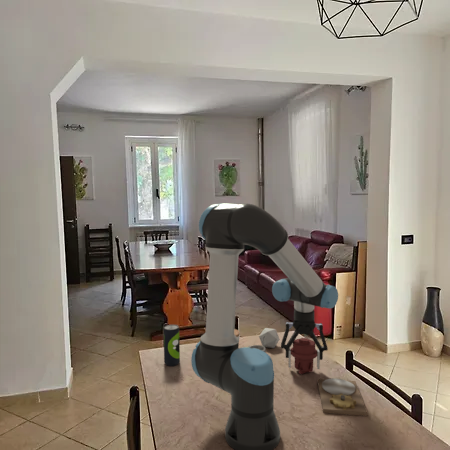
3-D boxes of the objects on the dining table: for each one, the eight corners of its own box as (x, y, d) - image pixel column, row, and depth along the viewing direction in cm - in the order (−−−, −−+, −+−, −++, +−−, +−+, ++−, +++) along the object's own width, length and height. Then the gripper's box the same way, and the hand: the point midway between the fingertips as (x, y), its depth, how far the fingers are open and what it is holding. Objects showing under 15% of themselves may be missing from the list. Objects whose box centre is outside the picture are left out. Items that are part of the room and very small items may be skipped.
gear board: (367, 416, 117) (367, 405, 116) (323, 412, 119) (323, 402, 118) (355, 384, 136) (355, 375, 136) (317, 381, 138) (317, 372, 138)
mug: (268, 366, 152) (268, 349, 151) (254, 369, 149) (254, 352, 148) (255, 356, 161) (255, 341, 160) (241, 360, 158) (241, 344, 157)
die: (258, 344, 176) (254, 332, 170) (272, 332, 179) (268, 320, 173) (269, 355, 170) (266, 343, 164) (284, 343, 173) (281, 331, 167)
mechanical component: (289, 365, 152) (315, 365, 151) (291, 376, 142) (319, 377, 141) (289, 334, 151) (315, 335, 150) (291, 344, 142) (319, 345, 141)
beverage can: (164, 360, 157) (163, 324, 156) (179, 359, 159) (178, 323, 157) (164, 367, 151) (163, 330, 150) (180, 365, 152) (179, 328, 151)
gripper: (333, 307, 147) (333, 364, 149) (274, 305, 151) (274, 360, 152) (336, 313, 140) (335, 373, 141) (273, 311, 143) (273, 369, 145)
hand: (303, 366), depth 147 cm, fingers closed on mechanical component, 10 cm apart
